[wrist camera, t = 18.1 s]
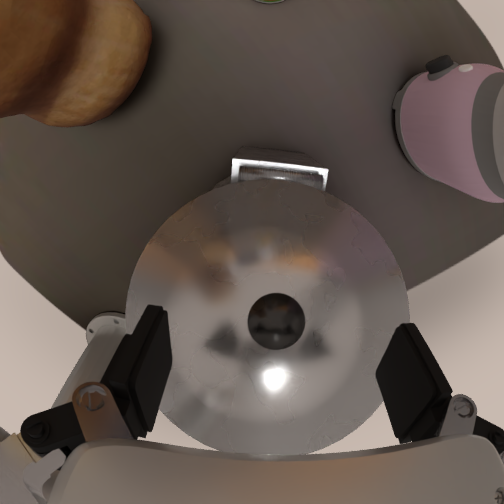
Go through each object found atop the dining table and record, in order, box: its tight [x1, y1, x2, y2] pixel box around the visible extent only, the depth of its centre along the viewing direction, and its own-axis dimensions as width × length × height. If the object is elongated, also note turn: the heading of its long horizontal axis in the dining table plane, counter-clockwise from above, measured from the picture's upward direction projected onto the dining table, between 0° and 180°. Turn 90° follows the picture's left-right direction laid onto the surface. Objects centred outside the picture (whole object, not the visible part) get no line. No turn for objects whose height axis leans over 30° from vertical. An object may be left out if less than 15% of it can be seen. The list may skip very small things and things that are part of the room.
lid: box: [125, 166, 410, 455], centre depth 14 cm, size 16×15×2 cm
